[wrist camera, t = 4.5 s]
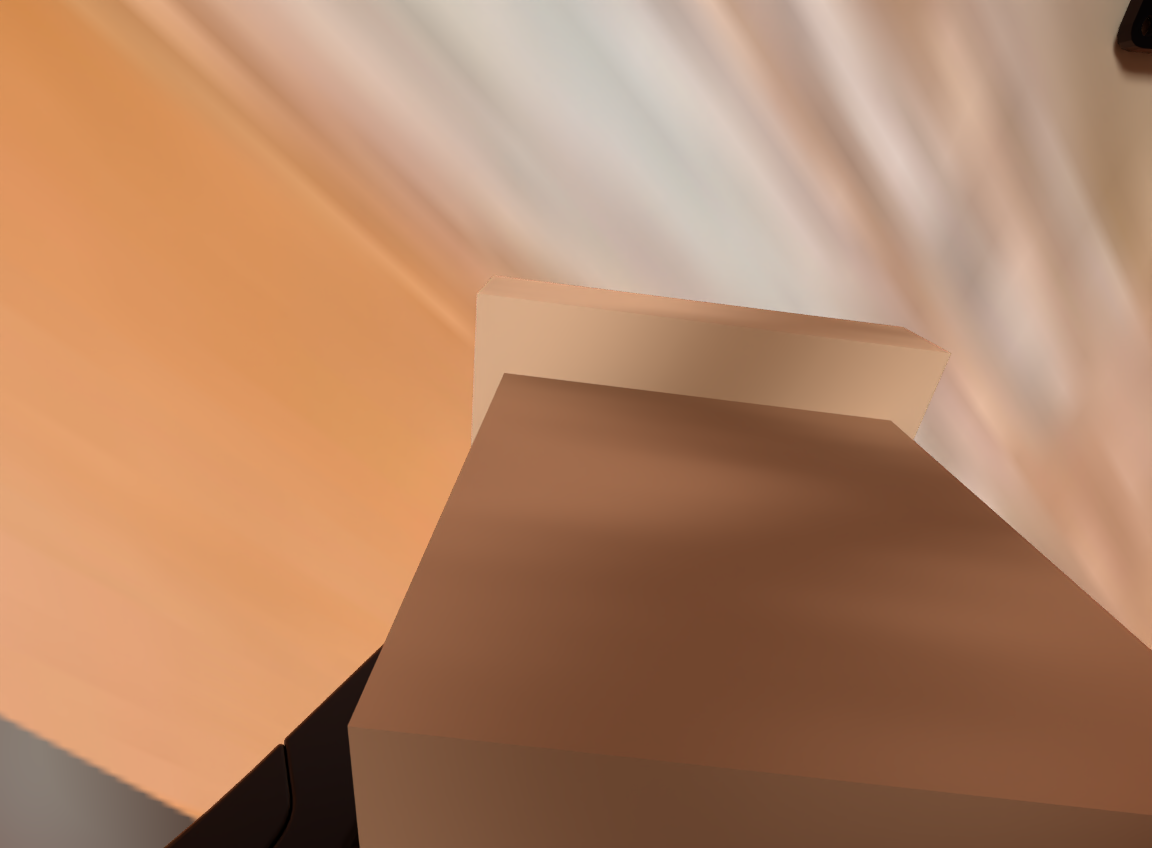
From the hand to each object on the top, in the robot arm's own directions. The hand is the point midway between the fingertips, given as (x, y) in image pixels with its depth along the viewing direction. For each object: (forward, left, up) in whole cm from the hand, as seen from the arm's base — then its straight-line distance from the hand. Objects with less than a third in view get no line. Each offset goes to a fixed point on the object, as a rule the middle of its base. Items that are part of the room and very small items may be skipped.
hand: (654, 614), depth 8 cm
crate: (0, 0, -2) cm, 2 cm away
